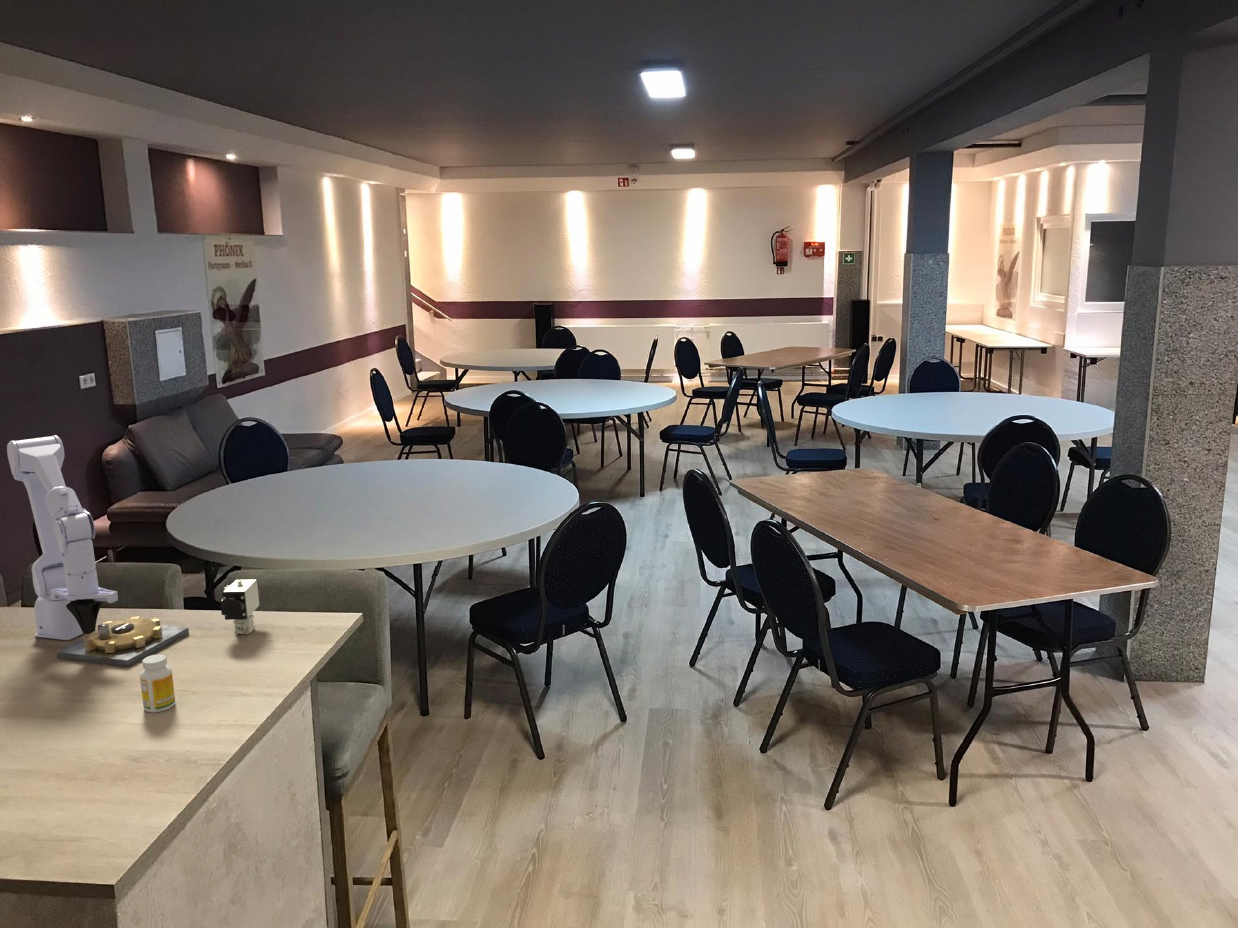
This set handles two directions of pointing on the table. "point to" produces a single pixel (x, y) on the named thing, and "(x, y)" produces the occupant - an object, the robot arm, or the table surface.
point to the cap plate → (125, 655)
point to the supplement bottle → (157, 684)
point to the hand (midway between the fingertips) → (89, 632)
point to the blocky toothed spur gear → (123, 634)
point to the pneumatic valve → (241, 604)
